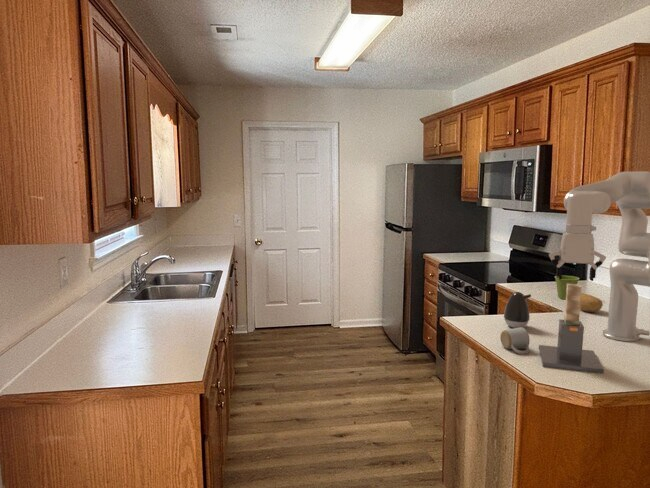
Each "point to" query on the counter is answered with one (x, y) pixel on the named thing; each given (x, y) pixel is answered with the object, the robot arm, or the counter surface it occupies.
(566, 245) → the robot arm
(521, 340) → the ceramic mug
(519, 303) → the pump dispenser
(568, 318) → the post
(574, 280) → the plant pot
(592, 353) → the stand
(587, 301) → the potato
